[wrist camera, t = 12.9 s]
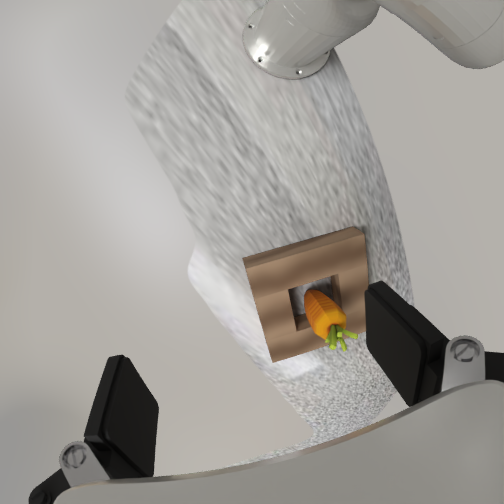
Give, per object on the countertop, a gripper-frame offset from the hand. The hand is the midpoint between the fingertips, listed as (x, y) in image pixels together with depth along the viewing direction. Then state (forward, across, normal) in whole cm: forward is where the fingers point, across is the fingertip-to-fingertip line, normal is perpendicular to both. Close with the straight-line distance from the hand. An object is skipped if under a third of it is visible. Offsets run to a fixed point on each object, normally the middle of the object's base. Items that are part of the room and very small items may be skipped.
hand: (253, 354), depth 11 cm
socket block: (+33, -10, +19) cm, 40 cm away
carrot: (+34, -10, +19) cm, 40 cm away
